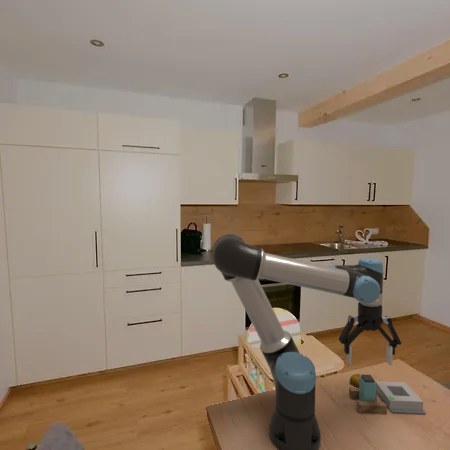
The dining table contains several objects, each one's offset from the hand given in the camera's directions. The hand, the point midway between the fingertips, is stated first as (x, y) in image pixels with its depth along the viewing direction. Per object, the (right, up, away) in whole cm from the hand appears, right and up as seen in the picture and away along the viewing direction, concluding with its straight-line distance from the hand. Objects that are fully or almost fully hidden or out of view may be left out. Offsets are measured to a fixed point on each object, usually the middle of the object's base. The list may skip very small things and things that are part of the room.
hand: (369, 363), depth 102 cm
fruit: (+3, -15, +12) cm, 19 cm away
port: (+12, -15, +3) cm, 19 cm away
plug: (0, -15, +1) cm, 15 cm away
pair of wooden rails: (0, -15, +1) cm, 15 cm away
